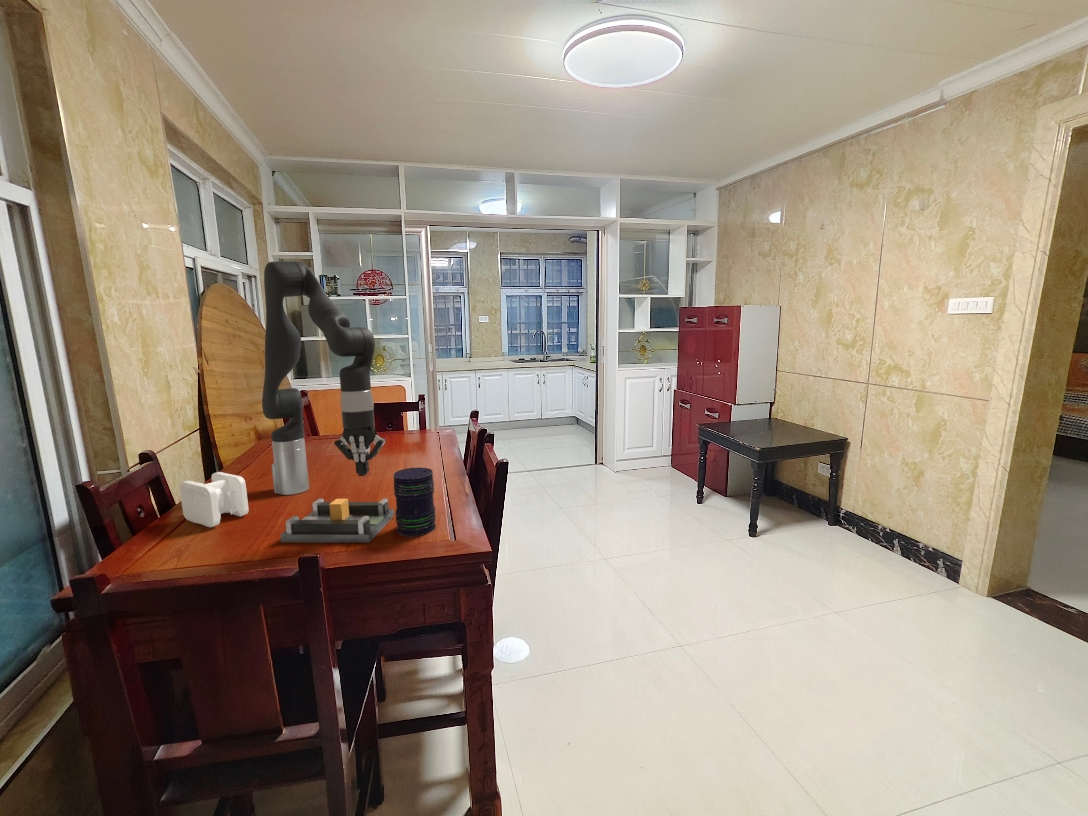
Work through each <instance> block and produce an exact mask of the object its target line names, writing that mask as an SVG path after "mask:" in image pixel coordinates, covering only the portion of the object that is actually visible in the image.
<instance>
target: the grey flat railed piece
mask: <svg viewBox="0 0 1088 816" xmlns="http://www.w3.org/2000/svg"><path fill="white" fill-rule="evenodd" d="M332 502H333V501H325V500H324V498H318V499H316V500H315V501H313V502H312V505H311V507H312V511H311V512H310V513H308V514H307V515H306V516H304V517H303V518H300V519H299V515H293V516H292V517H290V518H288V519H287V520H286V521H285V531H283V532H282V533H281V534H280V543H324V544H325V543H329V544H330V543H335V544H336V543H341V544H342V543H345V544H346V543H349V544H352V543H357V544H359V543H360V544H363V543H365V544H367V543H371V542H372V540H373V539H374V538H375V537H376V536H378V534H379V533H380V532H381V531H382V530H383V529H384V527H385V526H387V524H388V523H390V521H391V520H392V519H393V518H394V517H395V511H394V508H389V507H390V505H389V500H388V498H382V499H381V500H380V501H348V506H349V515H352V518H351V519H350V520H331V517H330V506H329V504H330V503H332Z"/></svg>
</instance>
